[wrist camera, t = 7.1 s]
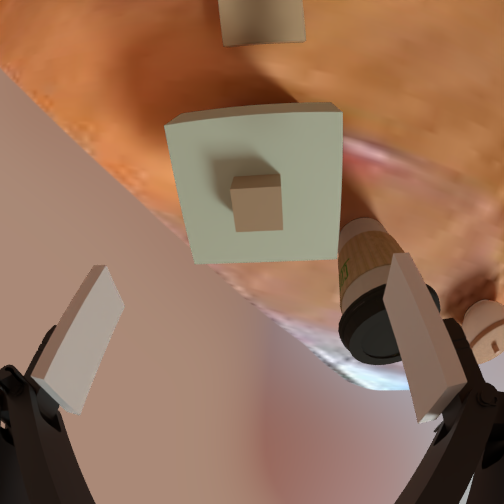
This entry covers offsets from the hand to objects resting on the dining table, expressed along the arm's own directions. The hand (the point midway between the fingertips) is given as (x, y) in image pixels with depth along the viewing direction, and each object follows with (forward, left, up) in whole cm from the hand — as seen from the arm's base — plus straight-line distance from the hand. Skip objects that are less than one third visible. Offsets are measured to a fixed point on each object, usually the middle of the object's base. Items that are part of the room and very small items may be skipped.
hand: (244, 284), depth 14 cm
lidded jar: (-36, +28, -21) cm, 50 cm away
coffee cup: (-11, +12, -21) cm, 26 cm away
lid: (0, 0, -13) cm, 13 cm away
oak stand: (-1, -14, -21) cm, 25 cm away
